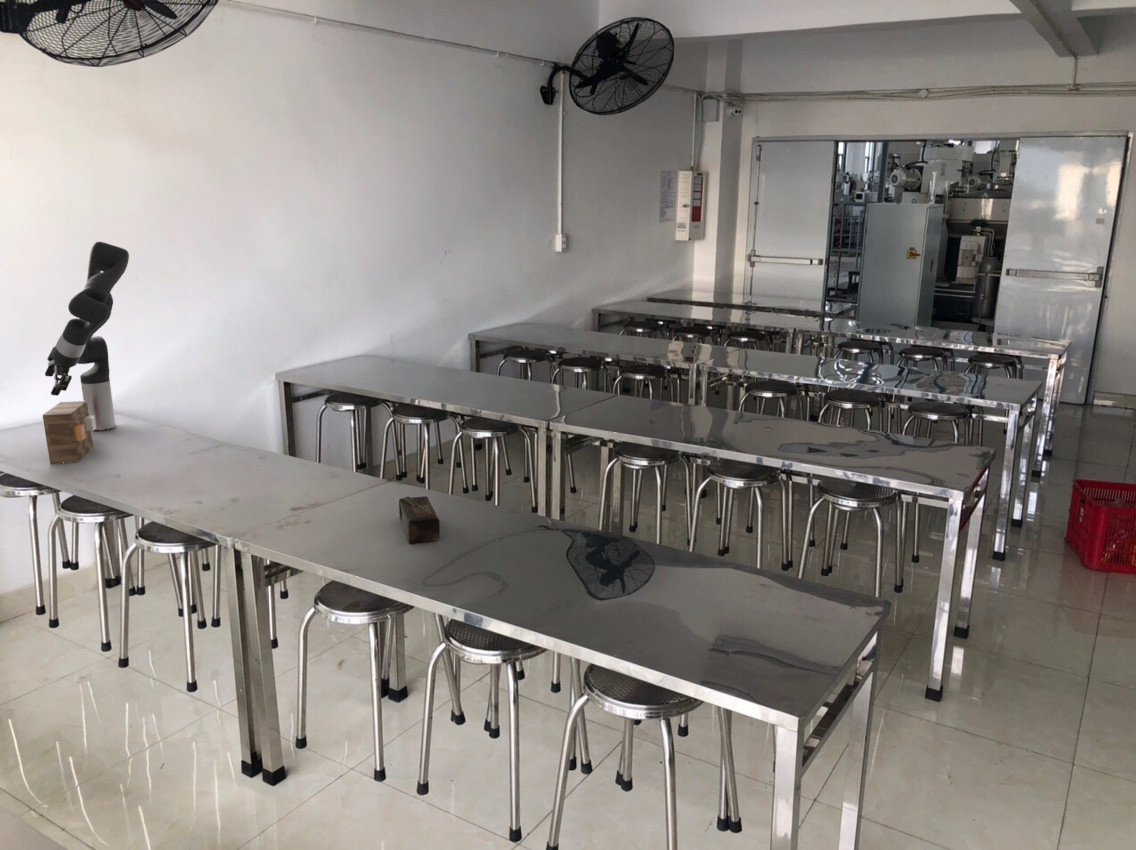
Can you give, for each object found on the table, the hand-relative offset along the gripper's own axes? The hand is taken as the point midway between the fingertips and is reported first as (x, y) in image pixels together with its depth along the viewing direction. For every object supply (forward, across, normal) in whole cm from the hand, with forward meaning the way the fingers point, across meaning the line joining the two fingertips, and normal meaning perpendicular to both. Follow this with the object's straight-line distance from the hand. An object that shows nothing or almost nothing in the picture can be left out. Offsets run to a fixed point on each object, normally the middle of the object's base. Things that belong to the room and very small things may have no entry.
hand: (51, 384), depth 284 cm
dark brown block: (-72, -117, -40) cm, 143 cm away
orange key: (+8, -15, -7) cm, 19 cm away
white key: (+13, -7, -13) cm, 20 cm away
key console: (+17, -14, -9) cm, 24 cm away
